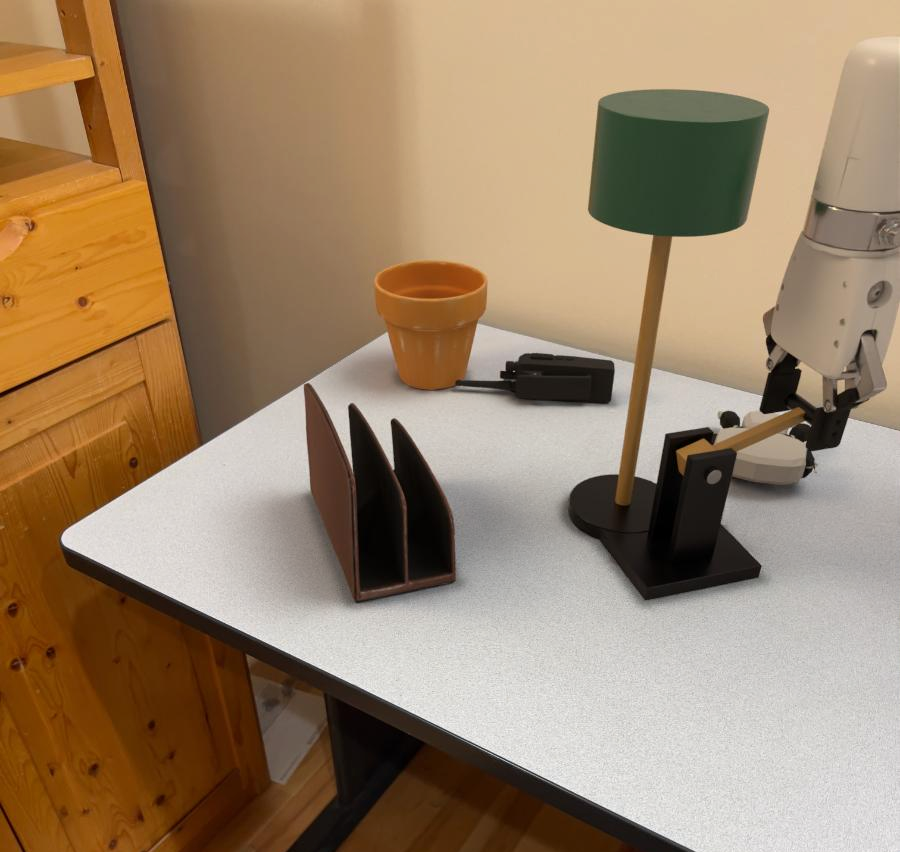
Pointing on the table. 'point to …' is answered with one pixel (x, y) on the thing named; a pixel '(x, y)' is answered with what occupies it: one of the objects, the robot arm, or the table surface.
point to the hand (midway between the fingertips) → (798, 427)
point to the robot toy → (768, 450)
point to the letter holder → (378, 506)
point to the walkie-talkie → (554, 378)
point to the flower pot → (431, 318)
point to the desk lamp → (662, 235)
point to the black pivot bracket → (685, 527)
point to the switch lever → (754, 430)
